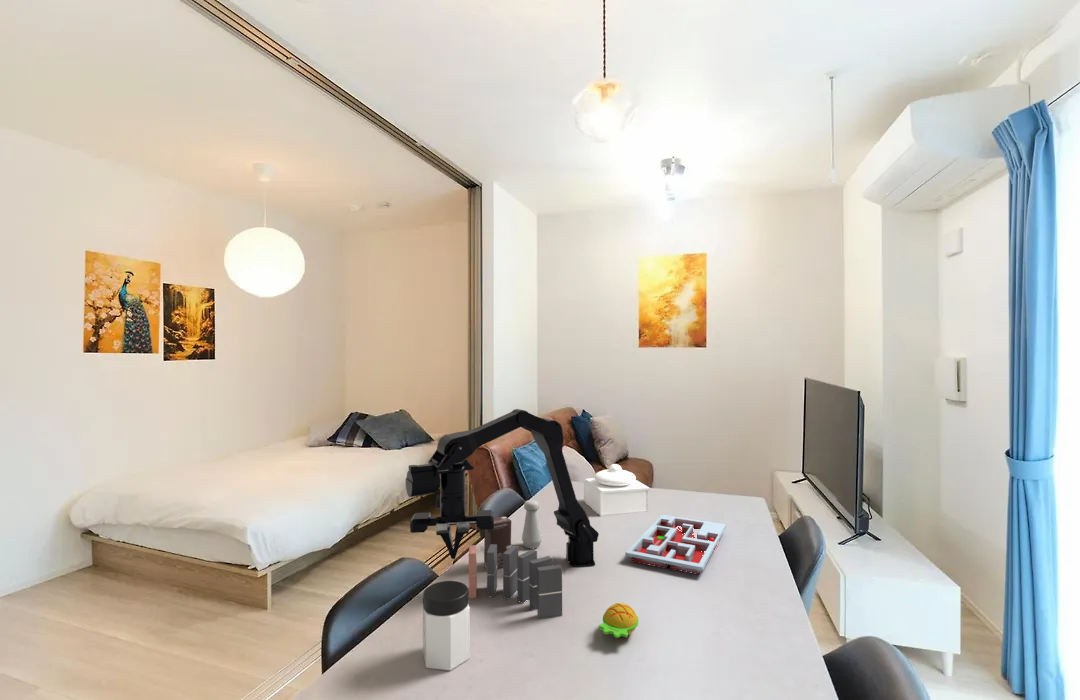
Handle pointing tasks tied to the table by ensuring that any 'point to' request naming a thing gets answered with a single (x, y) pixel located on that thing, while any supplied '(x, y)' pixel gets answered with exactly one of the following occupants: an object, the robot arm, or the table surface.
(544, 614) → the domino
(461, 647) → the jar
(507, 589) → the domino
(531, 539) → the salt shaker
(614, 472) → the butter dish
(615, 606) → the toy burger bun
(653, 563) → the maze game
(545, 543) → the table surface
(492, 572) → the domino
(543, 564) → the domino
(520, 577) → the domino
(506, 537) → the box
